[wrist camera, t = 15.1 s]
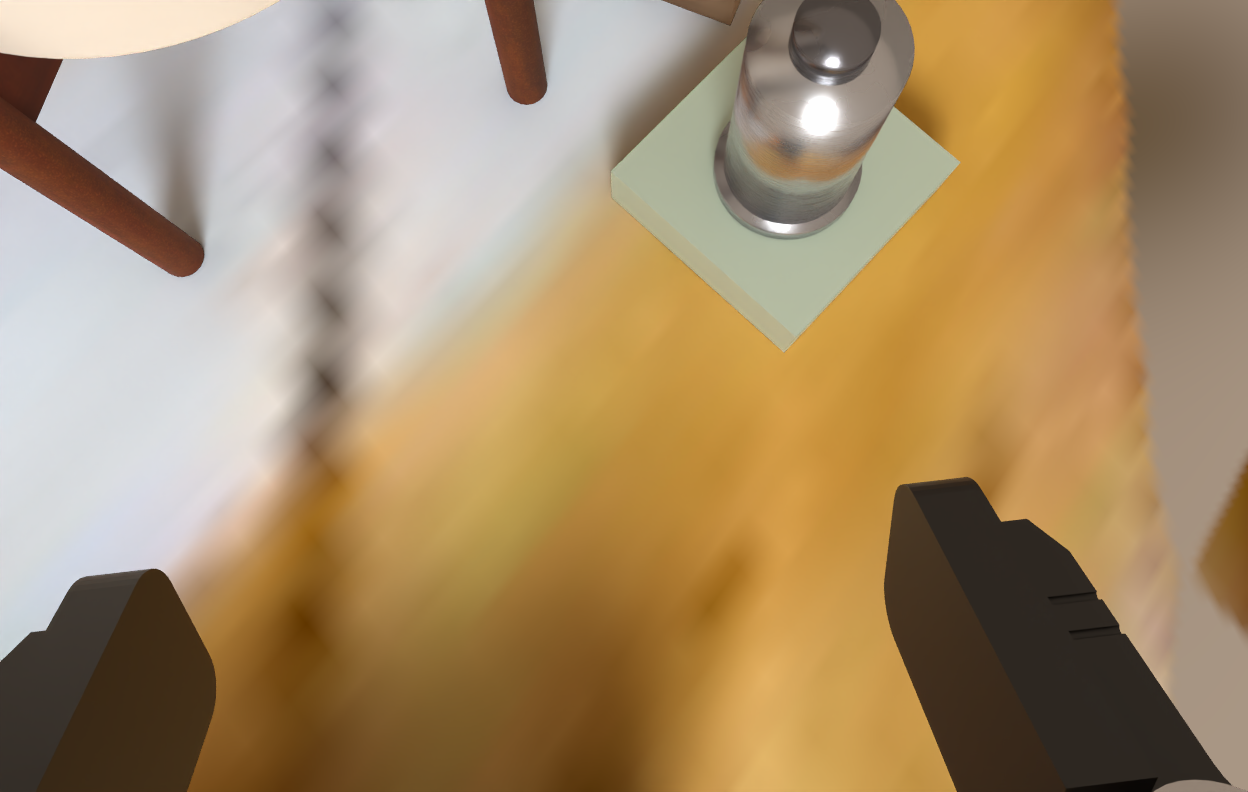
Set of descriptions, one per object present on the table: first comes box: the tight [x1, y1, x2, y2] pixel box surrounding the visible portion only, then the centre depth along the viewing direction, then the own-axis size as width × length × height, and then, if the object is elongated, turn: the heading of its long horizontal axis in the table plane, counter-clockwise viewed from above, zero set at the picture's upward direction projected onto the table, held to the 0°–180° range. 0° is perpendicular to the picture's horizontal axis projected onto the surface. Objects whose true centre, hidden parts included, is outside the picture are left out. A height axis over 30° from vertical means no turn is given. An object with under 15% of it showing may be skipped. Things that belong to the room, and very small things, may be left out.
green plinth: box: [611, 37, 960, 352], centre depth 42 cm, size 11×11×3 cm
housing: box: [713, 0, 914, 240], centre depth 35 cm, size 6×6×11 cm
